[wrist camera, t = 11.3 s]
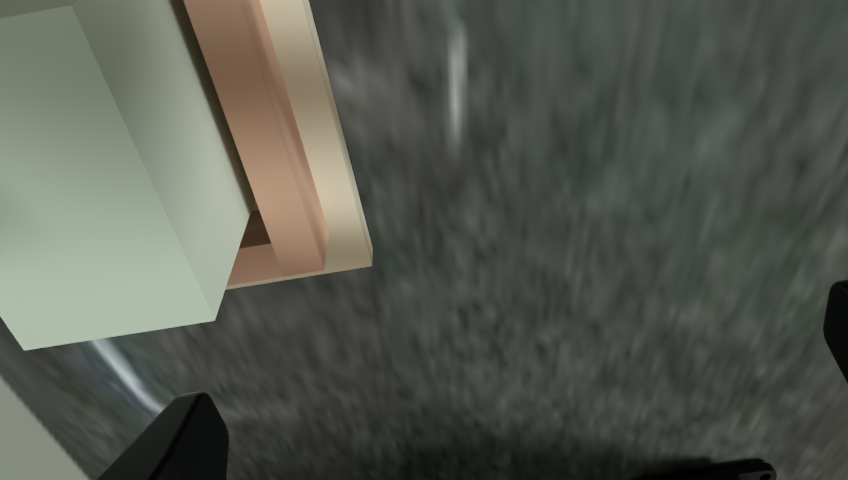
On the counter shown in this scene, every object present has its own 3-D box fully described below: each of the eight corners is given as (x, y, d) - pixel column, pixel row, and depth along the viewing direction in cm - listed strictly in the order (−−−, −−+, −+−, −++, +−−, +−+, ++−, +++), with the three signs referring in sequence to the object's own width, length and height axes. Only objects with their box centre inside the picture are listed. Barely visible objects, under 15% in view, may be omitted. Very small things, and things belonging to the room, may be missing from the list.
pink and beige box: (372, 248, 22) (370, 305, 20) (91, 294, 23) (54, 355, 20) (240, -262, 15) (210, -273, 12) (-182, -174, 15) (-293, -167, 13)
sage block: (171, -61, 16) (71, 5, 11) (258, 188, 20) (214, 320, 15) (-7, -27, 16) (-184, 52, 11) (114, 212, 20) (24, 350, 15)
